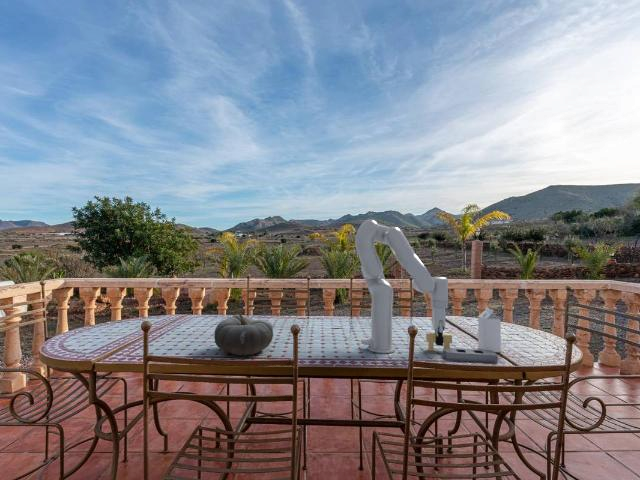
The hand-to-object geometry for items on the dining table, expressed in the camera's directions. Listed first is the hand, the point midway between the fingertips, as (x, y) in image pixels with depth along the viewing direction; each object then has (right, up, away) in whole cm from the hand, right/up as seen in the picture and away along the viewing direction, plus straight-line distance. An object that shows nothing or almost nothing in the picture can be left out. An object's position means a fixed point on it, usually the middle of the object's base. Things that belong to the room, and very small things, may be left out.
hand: (438, 343), depth 168 cm
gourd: (-88, -2, -5) cm, 88 cm away
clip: (0, -3, 0) cm, 3 cm away
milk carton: (+24, -4, +1) cm, 24 cm away
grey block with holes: (+9, -3, -12) cm, 15 cm away
